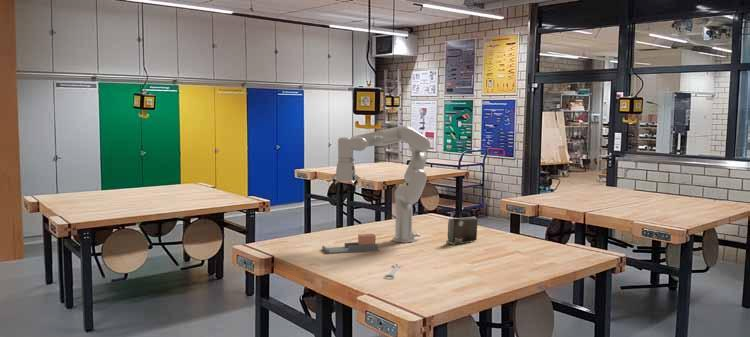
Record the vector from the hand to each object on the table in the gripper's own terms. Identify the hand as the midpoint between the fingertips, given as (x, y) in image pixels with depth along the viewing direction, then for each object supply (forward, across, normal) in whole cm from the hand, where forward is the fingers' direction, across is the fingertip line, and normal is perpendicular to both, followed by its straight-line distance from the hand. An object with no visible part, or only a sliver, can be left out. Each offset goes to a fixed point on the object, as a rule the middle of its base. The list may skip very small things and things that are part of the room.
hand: (345, 191), depth 317 cm
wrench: (+30, -46, +38) cm, 66 cm away
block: (+28, -15, +4) cm, 32 cm away
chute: (+29, -8, +10) cm, 32 cm away
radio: (+31, -53, -40) cm, 73 cm away
